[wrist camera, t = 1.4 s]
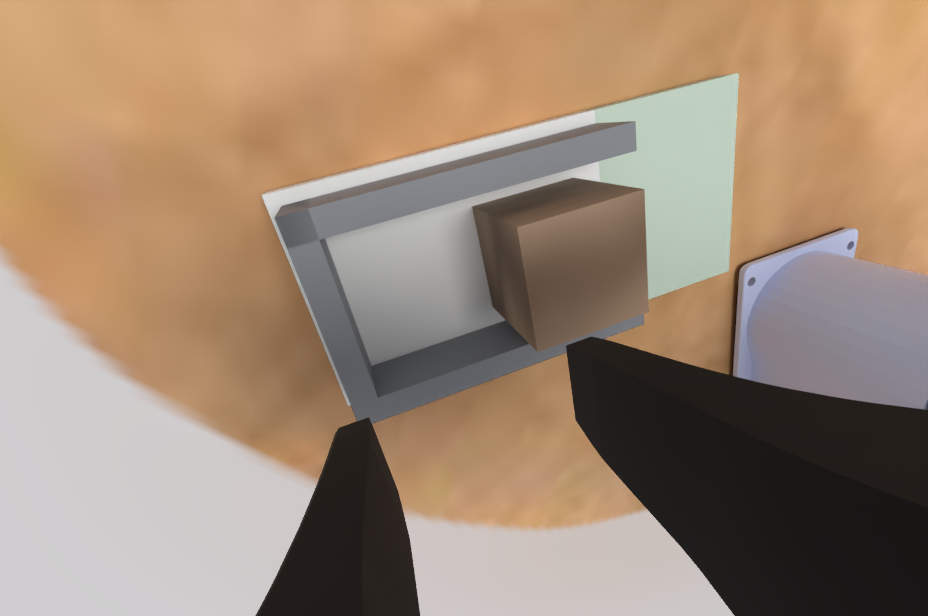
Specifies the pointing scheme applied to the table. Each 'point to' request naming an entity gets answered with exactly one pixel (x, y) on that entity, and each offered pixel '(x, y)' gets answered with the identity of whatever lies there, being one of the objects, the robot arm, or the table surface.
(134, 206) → the table surface
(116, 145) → the table surface
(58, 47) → the table surface
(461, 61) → the table surface
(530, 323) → the walnut cube
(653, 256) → the bay board
